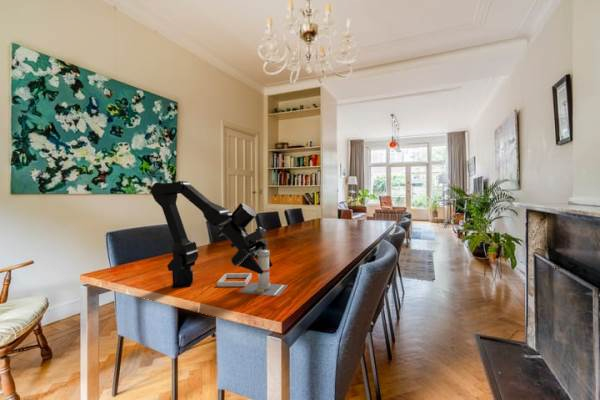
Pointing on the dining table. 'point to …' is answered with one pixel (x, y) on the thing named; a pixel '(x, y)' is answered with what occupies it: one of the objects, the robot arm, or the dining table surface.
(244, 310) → the dining table surface
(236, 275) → the parts tray
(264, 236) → the robot arm
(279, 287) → the panel
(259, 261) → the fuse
